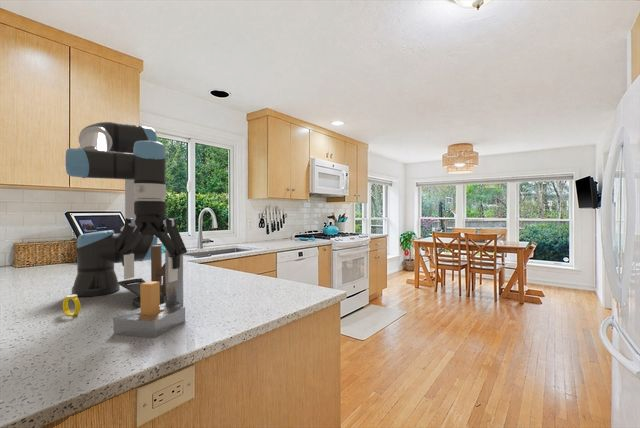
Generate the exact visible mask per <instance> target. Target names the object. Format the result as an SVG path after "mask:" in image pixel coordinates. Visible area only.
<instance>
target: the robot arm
mask: <svg viewBox="0 0 640 428" xmlns="http://www.w3.org/2000/svg"><path fill="white" fill-rule="evenodd" d="M78 143H79V147H77V148H71V147H69V148H67V149H66V150H65V160H64V161H65V162H64V163H65V170H66V171H65V173H66V174H67V175H68V176H69V177H74V178H82V179H86V178H87V179H105V180H106V179H108V180H109V179H111V180H112V179H113V180H124V225H123V226H122V227H121V228H120V233H119V232H118V233H115V230H114V229H110V230H109V229H108V230H99V231H93V232H88V233H82V234H80V235H78V237H77V240H76V241H77V242H76V246H75V247H76V248H75V249H77V250H76V251H77V254H76V255H77V256H76V257H77V258H76V259H77V263H76V265H77V266H76V267H77V271H76V276H75V280H74V282H73V286H72V287H71V295H73V294H76V295H78V296H77V298H79V297H82V298H83V297H84V298H85V297H96V296H103V295H107V294H112V293H115V292H118V291H119V290H120V285H119V284H118V283H119V282H120V281H119V280H118V277H117V273H116V271H115V264H119V263H120V264H121V265H122V267H123V280H130V279H134V278H135V262H144V261H151V246H153V245H158V240H159V242H161V244H162V245H163V246H164V248H165V249H167V251H168V252H169V253H170V255H171V256H170V257H168V282H173V281H176V280H178V268H179V267H180V256H181V255H182V254H183V255H185V254H187V253H188V249H187V247H186V245H185V243H184V241H183V239H182V237H181V234H180V232H179V230H178V229H179V228H177V227H178V226H177V222H176V219H175V218H166V219H165V215H166V214H167V202H166V201H164V200H166V199H167V185H166V175H167V174H166V165H167V163H166V162H167V161H166V159H167V154H166V146H165V145H164V144H163V143H162V142H159V141H158V135H157V132H156V131H155V129H154V128H152V127H148V126H145V125H137V124H129V123H128V124H127V123H120V122H112V121H111V122H109V121H104V122H102V121H101V122H97V123H93V124H90V125H87V126H85V127H84V128H83V129H81V131H80V132H79V135H78ZM165 227H166V228H165Z"/></svg>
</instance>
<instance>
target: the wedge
mask: <svg viewBox="0 0 640 428" xmlns="http://www.w3.org/2000/svg"><path fill="white" fill-rule="evenodd" d="M140 298H141V315H144V316H154V315H156V314H159V313H160V282H155V281H151V280H149V281H145V283H142V284H140Z"/></svg>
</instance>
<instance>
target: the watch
mask: <svg viewBox="0 0 640 428" xmlns="http://www.w3.org/2000/svg"><path fill="white" fill-rule="evenodd" d="M77 296H78V295H76V294H73V295H72V294H68V295H66V296H65V298H64V299H63V302H62V310H63V313H64V314H65V316H70V317H74V316H77V315H79V313H80V311H81V308H82V305H81V302H80V299H79V297H77ZM70 300H72V301H73V303H74V308H75V310H74V312H72V311H70V308H69V301H70Z"/></svg>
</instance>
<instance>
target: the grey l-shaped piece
mask: <svg viewBox="0 0 640 428" xmlns="http://www.w3.org/2000/svg"><path fill="white" fill-rule="evenodd" d="M170 256H171V255H170V253H169V252H168V251H167V249H166V248H165V249H164V261H165V262H164V263H165V295H164V296H165V298H166V303H164V304H161V305H160V313H159V314H156V315H154V316H144V315H141V308H138V309H136V308H135V309H133V310H131V311H129V312H125V313H124V314H120V315H118V316H116V317H114V318H113V319H112V320H113V322H112V323H113V325H112V326H113V335H119V336H120V335H121V336H132V337H142V338H152V339H153V338H154V339H155V338H157V337H158V336H160V335H163V334H164V333H166V332H168V331H170V330H172V329H174V328H175V327H177V326H179V325H181V324H183V323H184V322H186V306H184V254H182V255H181V256H180V267H179V268H178V280H176V281H173V282H168V257H170Z"/></svg>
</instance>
